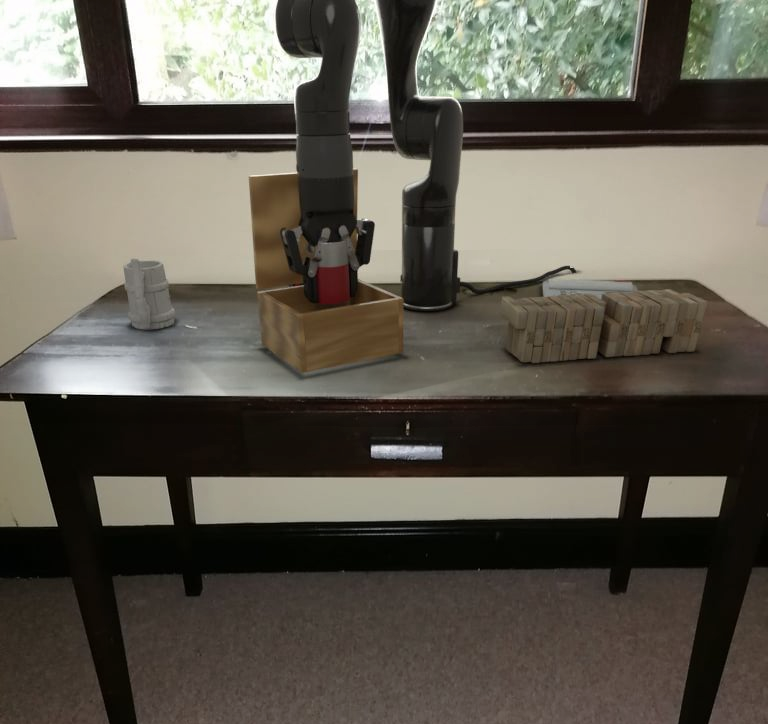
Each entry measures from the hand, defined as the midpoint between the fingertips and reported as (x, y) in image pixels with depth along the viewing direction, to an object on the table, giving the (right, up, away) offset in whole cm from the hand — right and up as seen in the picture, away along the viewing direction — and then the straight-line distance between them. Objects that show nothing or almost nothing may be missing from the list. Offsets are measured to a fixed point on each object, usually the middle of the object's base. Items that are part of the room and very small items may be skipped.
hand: (331, 298), depth 106 cm
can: (0, -3, +2) cm, 4 cm away
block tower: (+40, -7, +5) cm, 41 cm away
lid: (-4, +10, 0) cm, 11 cm away
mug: (-32, 0, +17) cm, 36 cm away
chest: (0, -7, +4) cm, 8 cm away
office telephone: (+47, +7, +27) cm, 54 cm away
